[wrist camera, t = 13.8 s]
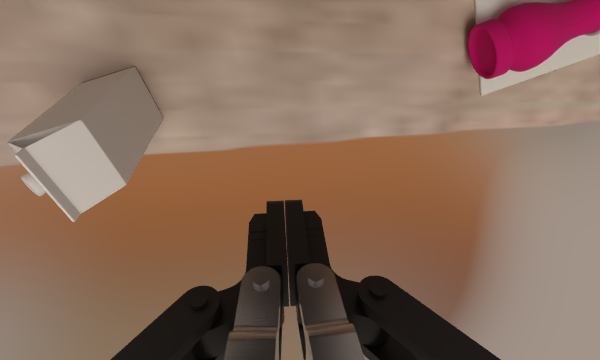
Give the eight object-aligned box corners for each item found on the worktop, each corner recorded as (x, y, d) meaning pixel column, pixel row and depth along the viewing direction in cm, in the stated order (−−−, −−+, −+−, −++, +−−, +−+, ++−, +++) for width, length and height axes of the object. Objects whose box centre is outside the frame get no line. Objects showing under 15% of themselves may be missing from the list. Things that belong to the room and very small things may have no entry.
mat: (480, 94, 47) (481, 95, 47) (471, -36, 38) (473, -36, 38) (621, 44, 45) (624, 45, 45) (648, -108, 36) (651, -108, 36)
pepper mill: (458, 34, 43) (622, -26, 42) (478, 90, 44) (642, 31, 42) (485, 8, 36) (684, -67, 35) (508, 74, 36) (707, 2, 35)
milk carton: (135, 65, 42) (57, 142, 26) (164, 118, 46) (111, 211, 30) (81, 82, 43) (-26, 167, 27) (114, 132, 47) (37, 231, 31)
